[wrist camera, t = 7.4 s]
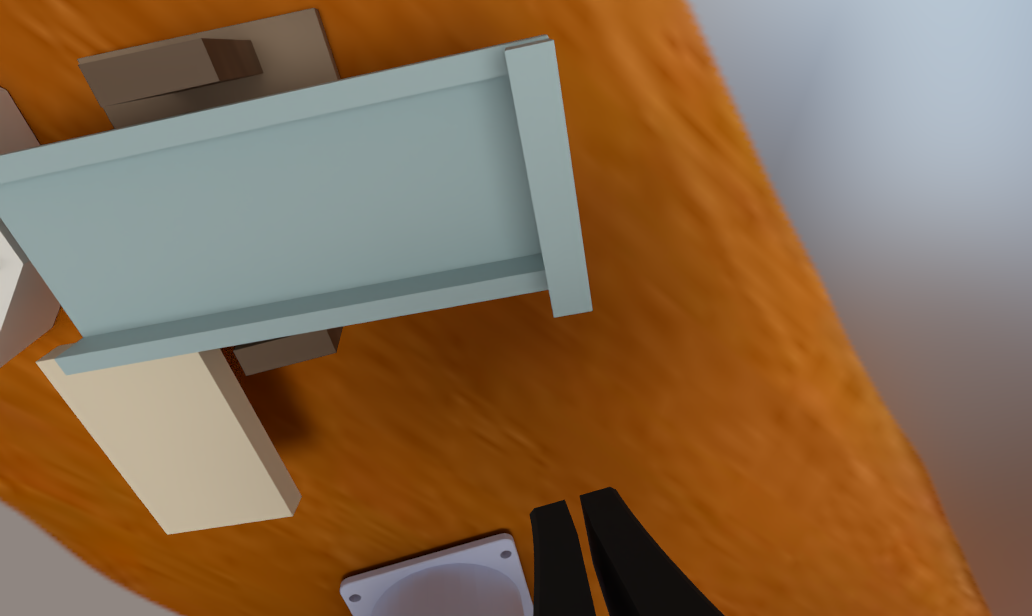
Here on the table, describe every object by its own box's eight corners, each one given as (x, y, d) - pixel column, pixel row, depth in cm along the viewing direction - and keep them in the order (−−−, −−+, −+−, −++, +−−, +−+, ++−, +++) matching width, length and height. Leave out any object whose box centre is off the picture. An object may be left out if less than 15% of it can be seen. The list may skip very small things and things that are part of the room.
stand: (408, 285, 18) (406, 348, 14) (233, 330, 18) (185, 405, 14) (318, 9, 14) (282, -5, 10) (89, 58, 14) (-31, 62, 10)
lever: (605, 451, 17) (625, 537, 14) (180, 514, 18) (119, 605, 15) (542, 33, 11) (553, 37, 8) (-71, 169, 12) (-243, 211, 10)
